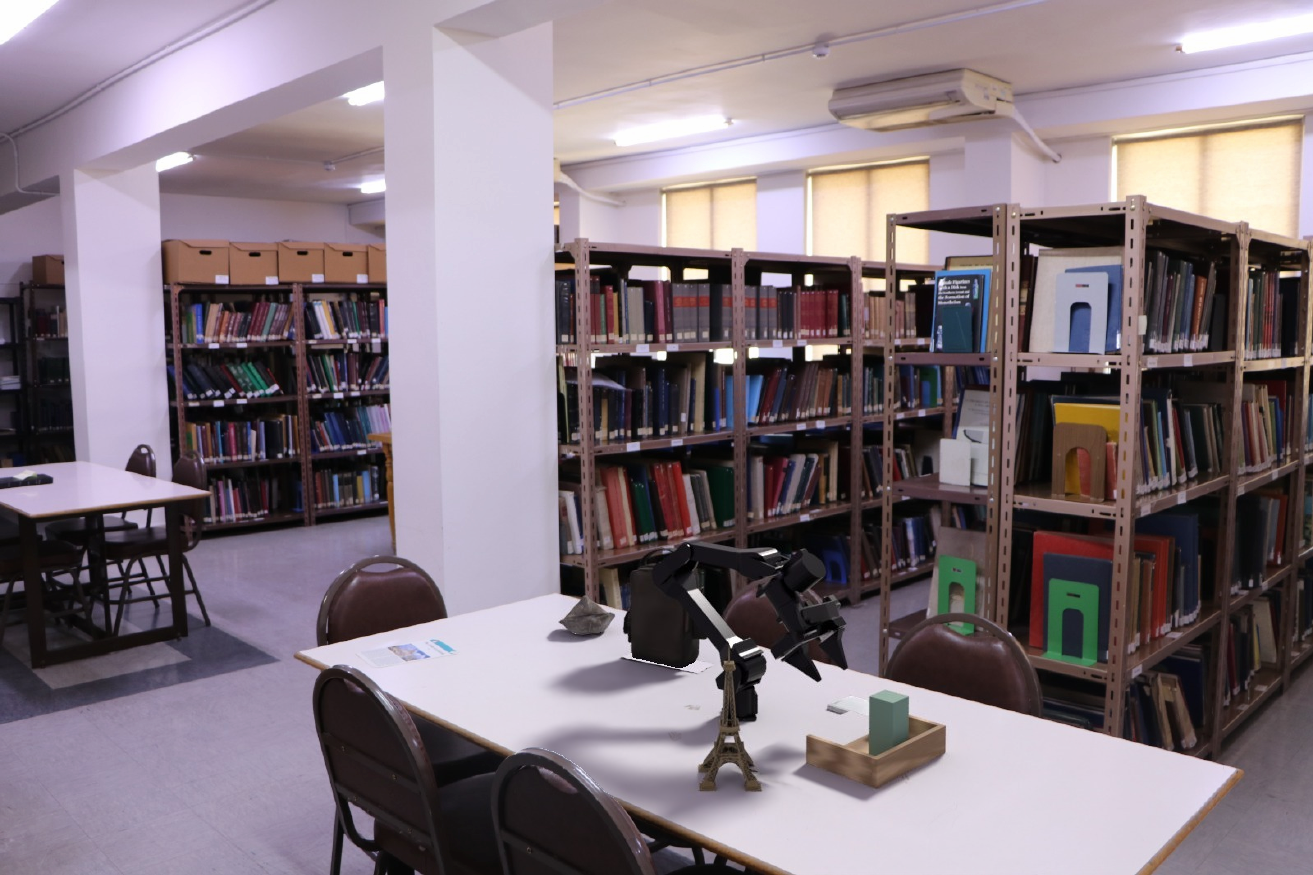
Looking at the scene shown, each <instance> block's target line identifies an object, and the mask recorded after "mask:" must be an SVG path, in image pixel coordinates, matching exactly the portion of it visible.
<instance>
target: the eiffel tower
mask: <svg viewBox="0 0 1313 875" xmlns="http://www.w3.org/2000/svg"><path fill="white" fill-rule="evenodd" d="M722 670H723V671H724V670H725V671H726V673H725V685H724V697H723V696H722V708H723V710H722V709H721V714H722V715H721V718H719V719H718V730H719V731H718V736H717V739H716V740H713V747H712V749H711V750H710V751H709V753H708V754H707V755H706V757H705V758H704V759H703V762H702V763H701V764H698V772H699V773H706V774H705V776H704V777H703V778H702V781H701V782H699V792H716V791H717V788H716V787H717V786H716V779H717V776H718V773H719V769H720V768H722V766H724V765H726V764H734V765H736V766H737V767H739V769H740V770H741V773H742V775H743V777H744V789H745V792H762V791H763V789H762V784H761V783H760V782H759V781H758V778H757V777H756V776H755V775H754V774H753V773H759V771H757V770H754V769H752V768H750V767H755V766H756V765H755V763H754V760H753V759H752V757H751V755H750V754H749V753H748V751H747V750H746V749H745V742H744V741H742V738H741V737H740V734H739V732H740V731H741V728H740V720H738V718H737V719H736V709H735V696H734V684H733V673H732V671H734V670H736V669H735V665H734V661H730V651H728V661H724V665H723V668H722ZM729 696H730V710H731V720H728V704H729ZM726 737H733V740H734V742H731V741H730V742H729V741H727V742H726Z"/></svg>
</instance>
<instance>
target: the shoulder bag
mask: <svg viewBox="0 0 1313 875" xmlns="http://www.w3.org/2000/svg"><path fill="white" fill-rule="evenodd" d="M677 548H678V547H662V546H660V547H657V548H656V547H655V548H653V549H652V550H651V551H649V552H648V553H646V554H645V555H643V556H642V558H641V559H640V561H639V562H638V565H637V568H636V570H635V569H634V570H632V571H631V572H630V574H629V585H630V593H629V594H630V605H628V606H626V611H627V612H626V613H625V615H624V617H623V625H622V626H623V627H622V633H623V634H624V635H627V642H628V643H630V653H632V657H633V658H636V659H642V660H646V661H650V662H654V663H657V664H664V665H667V666H671V667H675V668H683V667H686V666H688V665H689V664H692V663H694V662H695V661H696V660H698V658H699V656H700V640H701V641H702V640H703V641H704V640H707V639H708V638H707V637H706V635H705V634H704V633H703V632H702V630H701V629H700V628H699V627H698V625H697V624H696V623H695V622H694V620H693V619H692V618H691V616H690V615H689V614H688V613H687V611H686V610H685V609H684V608H683V606H682V605H681V604H680V603H679V602H678V601H677V600H675V599H673V598H671V597H669V596H667V595H665V594H664V593H663V592H661V591H660V590H659V589H658V588H657V587H656V586H655V585H654V583H653V582H652V579H651V578H652V569H653V567H654V565H655V564H656V563H647V562H648V561H649V559H650V558H651V556H652V555H654V554H656V553H657V552H659V551H660V552H661V551H666V552H670V553H673V552H674V551H675V550H676V549H677ZM692 572H693V573H694V575H695V581H696V587H697V588H698V590H699V591H700V592H701V593H702V594H703V592H704V588H705V587H704V586H702V587H701V584H700V575H699V573H698V569H697V567H696V568H695V569H694V570H693V571H692Z"/></svg>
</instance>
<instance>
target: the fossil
mask: <svg viewBox="0 0 1313 875" xmlns="http://www.w3.org/2000/svg"><path fill="white" fill-rule="evenodd" d="M615 617H616V614H615V613H613V612H611V611H610V612H608V611H607V610H605V609H604V608H602V606H601V605H599V604H598V603H596V602H595V601H594V600H592V599H591V598H590V597H589V595H583V596H582V597H581V598H580V600H579V601H578V602H577V603H575V605H574V606H573V607H572V608H571V610H570V611H569V612H568V613H567V614H566V615H565V617H564V618H562V619H560V620H559V621H558V623H559V624H560V625H562V626H564V627H565V628H566V629H567V630H568V631H569V632H570V633H572V634H574V633H576V634H575V635H579V634H585V635H589V634H588V633H590V634H592V633H597V634H601V633H603V632H605V631H606V630H607V629H608V628H609V626H610V624H611V622H612V621H613V620H614V619H615ZM600 632H601V633H600Z"/></svg>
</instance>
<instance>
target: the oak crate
mask: <svg viewBox="0 0 1313 875" xmlns="http://www.w3.org/2000/svg"><path fill="white" fill-rule="evenodd" d="M946 742H947V725H946V724H943V723H940V722H935V721H932V720H928V719H926V718H921V717H918V716H914V715H911V714H909V739H908V741H906V742H904V743H902V744H899V745H897V746H895V747H893V748H891V749H889V750H887V751H885V752H883V753H881V754H879V755H877V756H873V755H870V754H869V733H867V734H865V735H863V736H861V737H859V738H857V739H855V740H853V741H850V742H848V743H846V744H844V745H843V744H840V743H838V742H833V741H831V740H829V739H825V738H823V737H819V736H816V735H814V734H807V735H806V736H805V745H806V746H805V763H806V764H808V765H811V766H813V767H816V768H819V769H822V770H825V771H826V772H830V773H832V774H836V775H838V776H841V777H844V778H846V779H849V780H852V781H855V782H858V783H860V784H863V785H866V786H868V787H871V788H874V789H879V788H881V787H882V786H885V785H886V784H888V783H890V782H892V781H894V780H897V779H898V778H900V777H901V776H903V775H905V774H908V773H909V772H911V771H912V770H915V769H917V768H918V767H920V766H922V765H924V764H927V763H928V762H929V761H932V760H934V759H935V758H937V757H939V756H941V755H943V754H945V753H946V750H947V748H946V746H947V743H946Z"/></svg>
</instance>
